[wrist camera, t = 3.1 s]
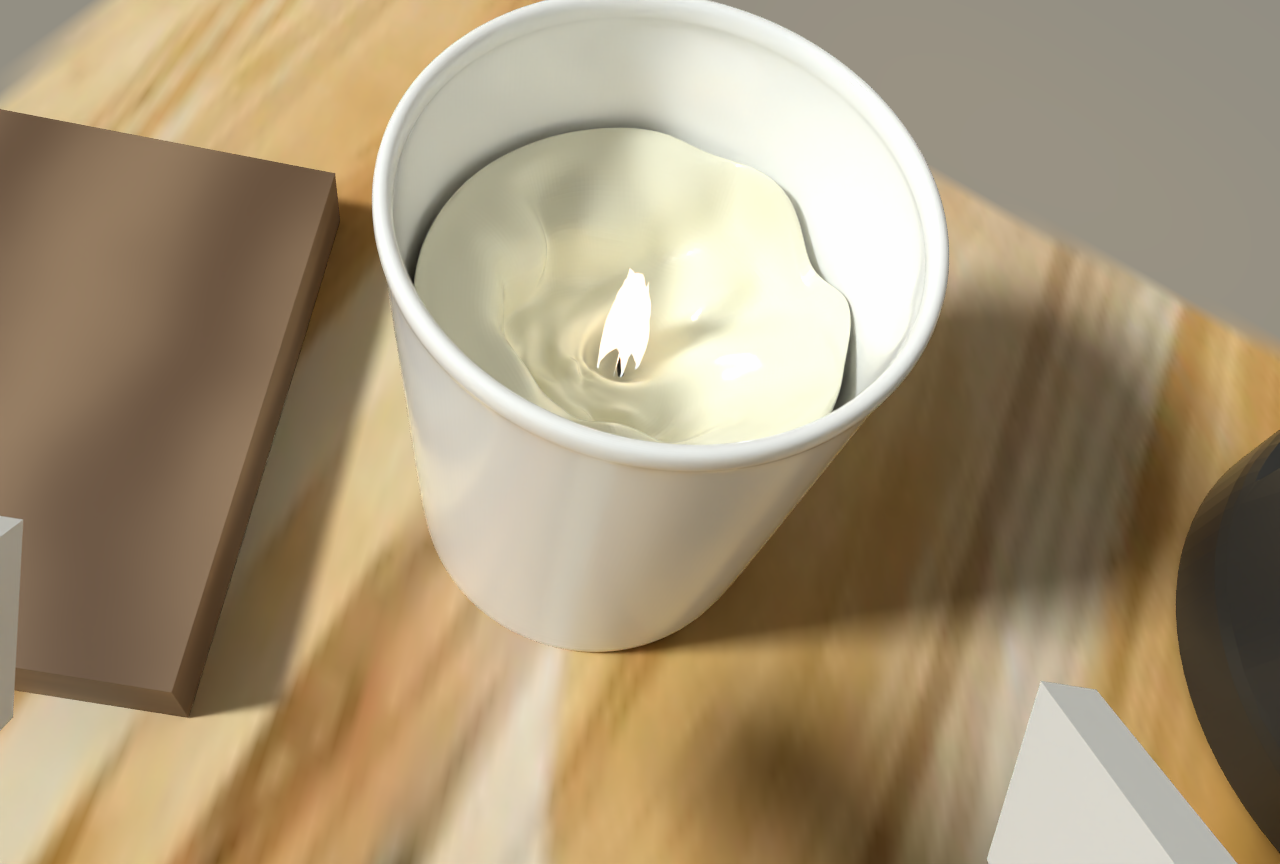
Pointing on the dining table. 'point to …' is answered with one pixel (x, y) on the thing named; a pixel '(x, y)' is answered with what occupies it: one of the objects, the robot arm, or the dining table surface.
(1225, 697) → the robot arm
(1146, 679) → the dining table surface
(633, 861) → the dining table surface
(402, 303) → the candle holder
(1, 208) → the walnut board
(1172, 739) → the dining table surface
